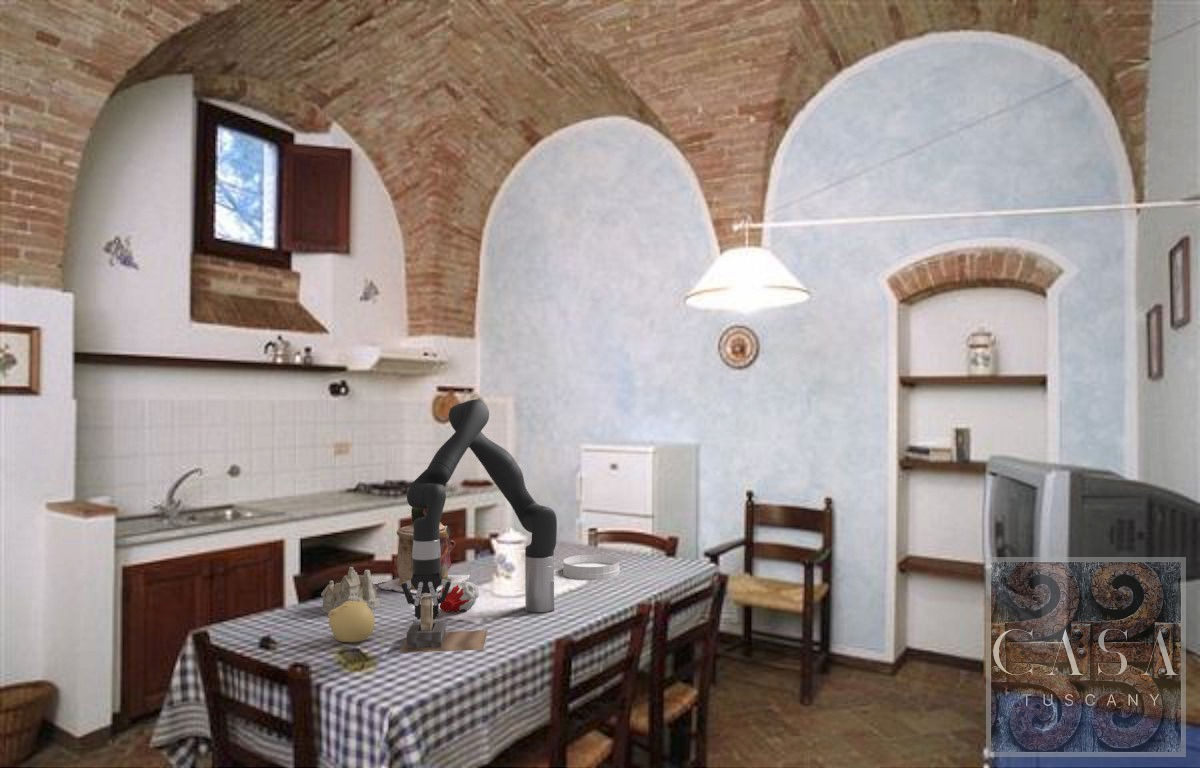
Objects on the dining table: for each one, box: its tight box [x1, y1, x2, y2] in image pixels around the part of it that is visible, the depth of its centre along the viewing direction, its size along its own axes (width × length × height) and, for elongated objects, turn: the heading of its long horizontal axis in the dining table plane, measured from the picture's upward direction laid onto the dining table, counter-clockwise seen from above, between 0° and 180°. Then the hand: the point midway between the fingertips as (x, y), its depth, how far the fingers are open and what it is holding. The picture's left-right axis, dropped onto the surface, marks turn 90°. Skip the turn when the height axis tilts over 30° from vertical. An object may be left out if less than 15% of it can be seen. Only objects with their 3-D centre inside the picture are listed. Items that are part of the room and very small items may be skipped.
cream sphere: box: [327, 601, 376, 643], centre depth 210 cm, size 12×12×11 cm
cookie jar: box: [377, 507, 470, 596], centre depth 271 cm, size 25×25×32 cm
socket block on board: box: [398, 620, 488, 653], centre depth 203 cm, size 22×16×6 cm
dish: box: [562, 554, 621, 581], centre depth 287 cm, size 22×22×5 cm
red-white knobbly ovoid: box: [438, 581, 480, 613], centre depth 237 cm, size 9×11×15 cm
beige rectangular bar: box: [420, 594, 434, 631], centre depth 204 cm, size 2×5×12 cm, turn 5°
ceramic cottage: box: [320, 566, 381, 615], centre depth 241 cm, size 16×16×15 cm
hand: (426, 618), depth 203 cm, fingers open, 3 cm apart
